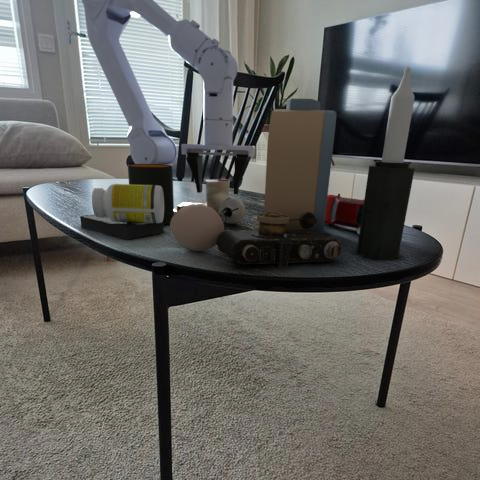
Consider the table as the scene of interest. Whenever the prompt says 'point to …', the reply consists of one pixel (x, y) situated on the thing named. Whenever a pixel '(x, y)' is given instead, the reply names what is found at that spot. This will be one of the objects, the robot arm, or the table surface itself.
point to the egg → (196, 227)
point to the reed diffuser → (232, 211)
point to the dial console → (196, 203)
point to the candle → (389, 183)
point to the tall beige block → (299, 161)
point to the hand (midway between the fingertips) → (217, 192)
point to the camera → (279, 242)
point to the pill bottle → (129, 203)
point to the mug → (155, 183)
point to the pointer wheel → (216, 192)
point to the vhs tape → (120, 227)
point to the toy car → (344, 211)
